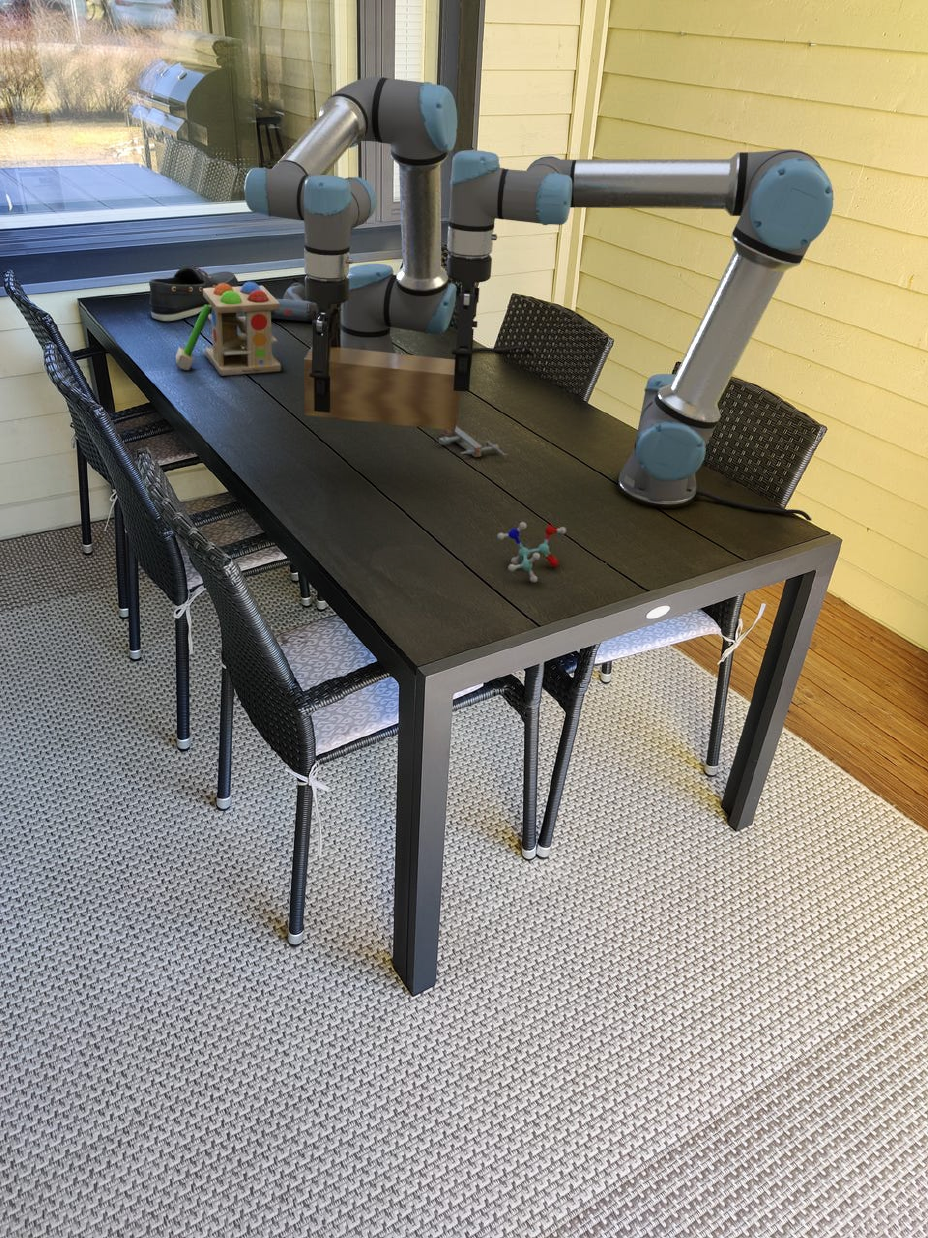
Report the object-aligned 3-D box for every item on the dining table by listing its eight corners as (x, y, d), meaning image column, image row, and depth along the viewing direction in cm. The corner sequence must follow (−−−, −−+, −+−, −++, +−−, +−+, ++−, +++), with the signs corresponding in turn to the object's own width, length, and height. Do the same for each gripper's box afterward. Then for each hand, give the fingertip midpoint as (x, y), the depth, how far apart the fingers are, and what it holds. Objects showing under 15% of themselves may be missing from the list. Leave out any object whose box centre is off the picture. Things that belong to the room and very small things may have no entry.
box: (304, 415, 177) (304, 358, 172) (313, 399, 184) (313, 344, 178) (455, 431, 177) (459, 375, 171) (458, 414, 183) (463, 360, 177)
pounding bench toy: (183, 379, 220) (176, 299, 210) (169, 357, 231) (162, 280, 221) (282, 371, 230) (280, 294, 220) (264, 350, 240) (262, 276, 230)
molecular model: (561, 577, 156) (542, 517, 155) (507, 592, 160) (488, 534, 159) (577, 563, 167) (559, 507, 166) (526, 578, 171) (508, 523, 169)
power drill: (344, 304, 276) (335, 327, 259) (277, 298, 275) (264, 321, 258) (344, 285, 273) (335, 306, 256) (277, 279, 272) (264, 300, 255)
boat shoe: (257, 300, 274) (255, 261, 268) (168, 323, 250) (164, 281, 244) (224, 291, 279) (221, 254, 274) (133, 313, 256) (128, 272, 250)
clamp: (430, 428, 204) (472, 422, 209) (430, 438, 205) (471, 431, 210) (466, 458, 194) (509, 450, 198) (465, 468, 195) (508, 460, 199)
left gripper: (337, 295, 158) (336, 426, 171) (358, 262, 175) (356, 384, 188) (291, 290, 159) (294, 422, 171) (317, 257, 175) (317, 380, 188)
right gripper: (491, 274, 153) (482, 404, 165) (493, 237, 174) (485, 354, 185) (443, 271, 153) (437, 401, 165) (450, 234, 174) (445, 352, 185)
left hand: (326, 402), depth 180 cm, fingers closed on box, 8 cm apart
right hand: (462, 376), depth 175 cm, fingers open, 13 cm apart
